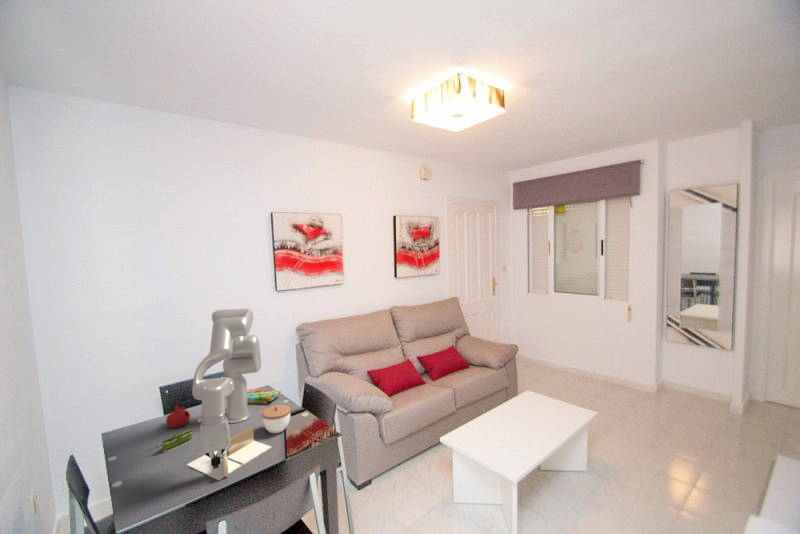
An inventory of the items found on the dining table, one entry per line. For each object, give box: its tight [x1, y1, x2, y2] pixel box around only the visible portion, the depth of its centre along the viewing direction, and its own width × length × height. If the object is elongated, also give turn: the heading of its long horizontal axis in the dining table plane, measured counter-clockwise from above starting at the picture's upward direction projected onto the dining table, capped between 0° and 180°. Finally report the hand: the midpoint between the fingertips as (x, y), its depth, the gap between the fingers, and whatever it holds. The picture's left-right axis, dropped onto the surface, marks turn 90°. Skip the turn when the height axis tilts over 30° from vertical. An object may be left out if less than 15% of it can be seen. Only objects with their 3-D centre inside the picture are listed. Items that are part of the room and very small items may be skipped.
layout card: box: [186, 440, 272, 481], centre depth 143 cm, size 20×24×1 cm
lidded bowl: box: [261, 404, 291, 435], centre depth 164 cm, size 13×13×11 cm
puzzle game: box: [247, 388, 282, 405], centre depth 198 cm, size 12×5×20 cm
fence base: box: [222, 427, 255, 458], centre depth 147 cm, size 2×14×8 cm, turn 152°
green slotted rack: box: [147, 428, 193, 454], centre depth 150 cm, size 7×19×10 cm
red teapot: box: [165, 405, 191, 429], centre depth 171 cm, size 10×10×9 cm
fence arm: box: [223, 450, 230, 478], centre depth 134 cm, size 2×13×6 cm, turn 29°
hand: (216, 466), depth 131 cm, fingers closed
